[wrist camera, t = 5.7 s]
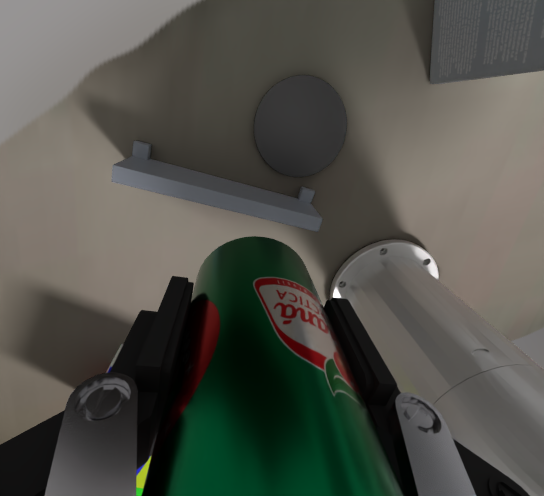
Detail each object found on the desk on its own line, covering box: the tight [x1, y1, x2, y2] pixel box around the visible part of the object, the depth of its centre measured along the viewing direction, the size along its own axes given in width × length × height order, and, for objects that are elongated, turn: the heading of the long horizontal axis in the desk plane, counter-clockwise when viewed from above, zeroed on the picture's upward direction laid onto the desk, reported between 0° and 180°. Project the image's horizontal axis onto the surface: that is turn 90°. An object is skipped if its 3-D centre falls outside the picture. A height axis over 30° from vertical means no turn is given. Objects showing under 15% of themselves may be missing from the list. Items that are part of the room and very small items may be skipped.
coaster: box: [254, 75, 347, 177], centre depth 25 cm, size 8×8×1 cm
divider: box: [112, 140, 323, 232], centre depth 24 cm, size 16×4×5 cm, turn 73°
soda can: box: [142, 236, 405, 496], centre depth 8 cm, size 5×5×12 cm
